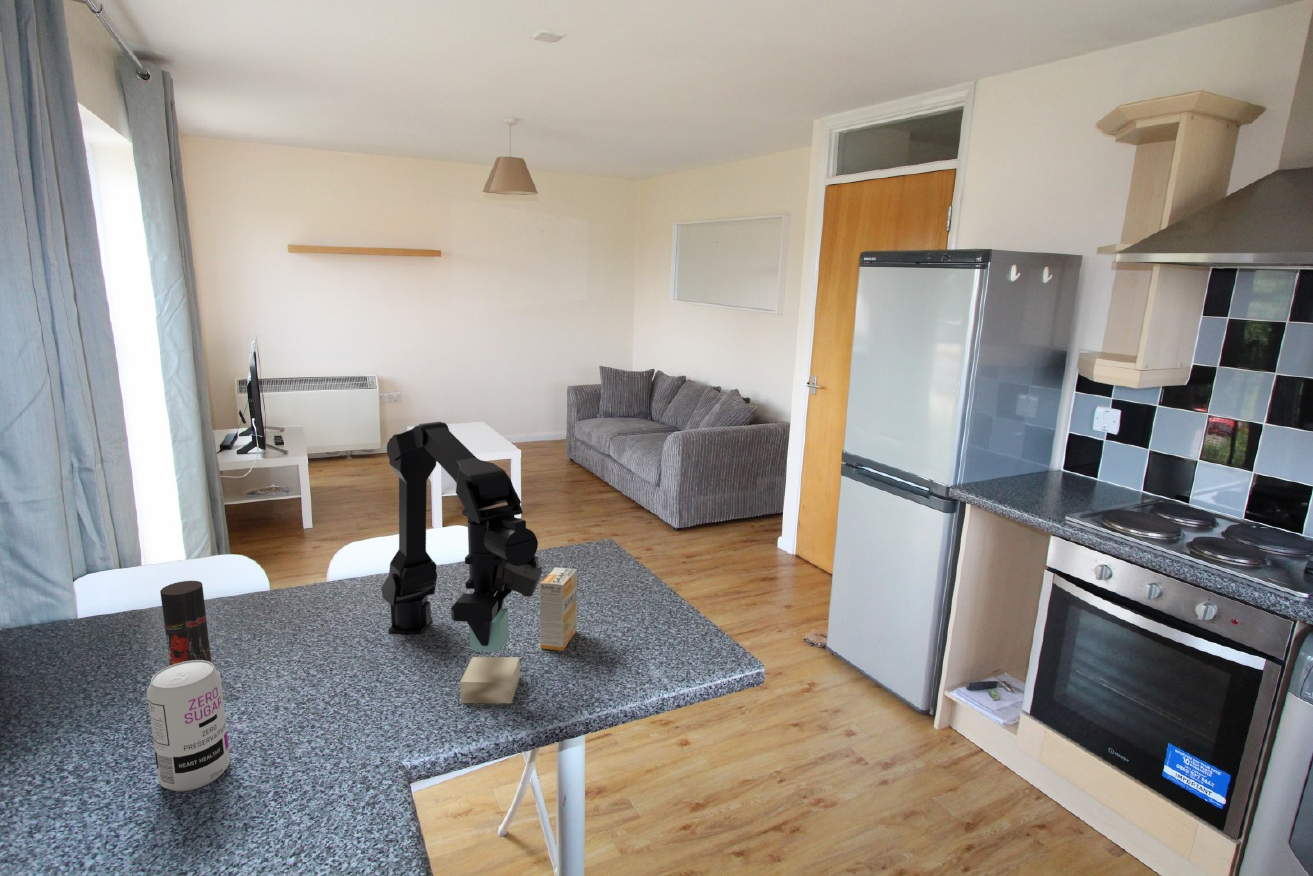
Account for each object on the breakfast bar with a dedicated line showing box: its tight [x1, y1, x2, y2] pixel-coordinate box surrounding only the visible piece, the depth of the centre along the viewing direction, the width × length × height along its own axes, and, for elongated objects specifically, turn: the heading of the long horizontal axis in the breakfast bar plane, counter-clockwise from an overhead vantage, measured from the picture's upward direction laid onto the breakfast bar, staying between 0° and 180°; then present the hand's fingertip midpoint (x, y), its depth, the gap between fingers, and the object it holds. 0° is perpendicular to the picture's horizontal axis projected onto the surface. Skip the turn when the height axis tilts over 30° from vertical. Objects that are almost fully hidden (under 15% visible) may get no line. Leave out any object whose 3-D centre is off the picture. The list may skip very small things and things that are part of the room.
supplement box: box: [539, 567, 578, 652], centre depth 136 cm, size 8×5×13 cm, turn 168°
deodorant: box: [160, 580, 212, 666], centre depth 123 cm, size 6×6×15 cm
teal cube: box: [468, 607, 510, 652], centre depth 118 cm, size 5×5×5 cm
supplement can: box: [146, 660, 231, 792], centre depth 97 cm, size 8×8×15 cm
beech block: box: [459, 656, 521, 705], centre depth 119 cm, size 8×8×4 cm
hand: (489, 637), depth 118 cm, fingers closed on teal cube, 5 cm apart
